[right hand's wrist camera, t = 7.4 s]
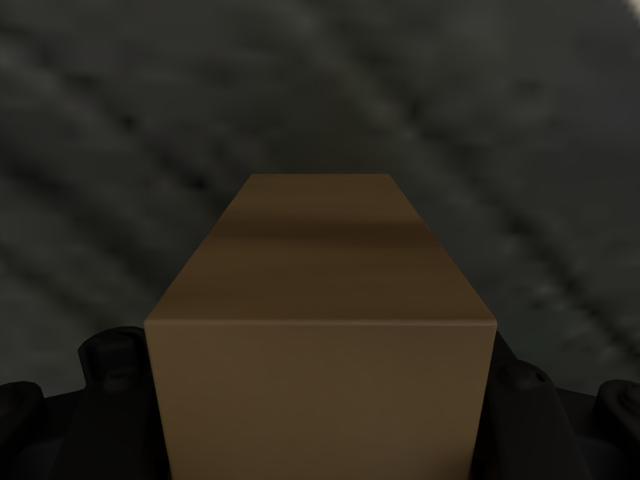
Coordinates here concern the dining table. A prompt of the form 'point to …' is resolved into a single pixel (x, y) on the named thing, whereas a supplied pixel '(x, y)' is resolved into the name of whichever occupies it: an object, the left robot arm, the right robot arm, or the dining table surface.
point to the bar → (320, 340)
